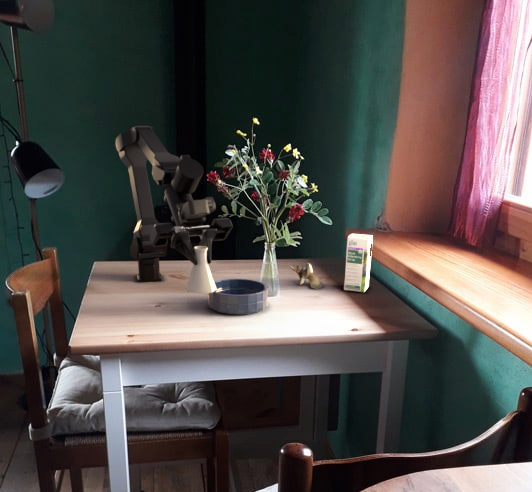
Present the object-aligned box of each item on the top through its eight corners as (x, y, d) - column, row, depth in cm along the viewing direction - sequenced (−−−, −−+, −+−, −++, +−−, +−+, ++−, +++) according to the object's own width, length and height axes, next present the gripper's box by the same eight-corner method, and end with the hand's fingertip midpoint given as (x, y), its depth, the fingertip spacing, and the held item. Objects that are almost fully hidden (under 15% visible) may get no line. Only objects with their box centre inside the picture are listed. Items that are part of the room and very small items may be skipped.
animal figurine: (283, 278, 169) (302, 280, 161) (294, 255, 170) (312, 256, 162) (303, 290, 173) (322, 293, 165) (313, 267, 174) (333, 269, 166)
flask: (216, 295, 139) (216, 251, 135) (184, 294, 139) (183, 250, 135) (217, 285, 146) (217, 243, 142) (186, 285, 145) (185, 243, 142)
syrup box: (343, 290, 164) (346, 236, 159) (348, 284, 169) (352, 232, 164) (364, 293, 162) (368, 238, 157) (369, 287, 167) (373, 234, 162)
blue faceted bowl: (205, 299, 154) (204, 279, 153) (260, 296, 157) (260, 277, 156) (212, 317, 142) (212, 296, 140) (272, 314, 144) (273, 294, 143)
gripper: (152, 186, 132) (173, 248, 127) (229, 182, 141) (252, 240, 136) (141, 217, 141) (160, 275, 137) (214, 211, 150) (235, 266, 146)
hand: (203, 263), depth 139 cm, fingers closed on flask, 3 cm apart
